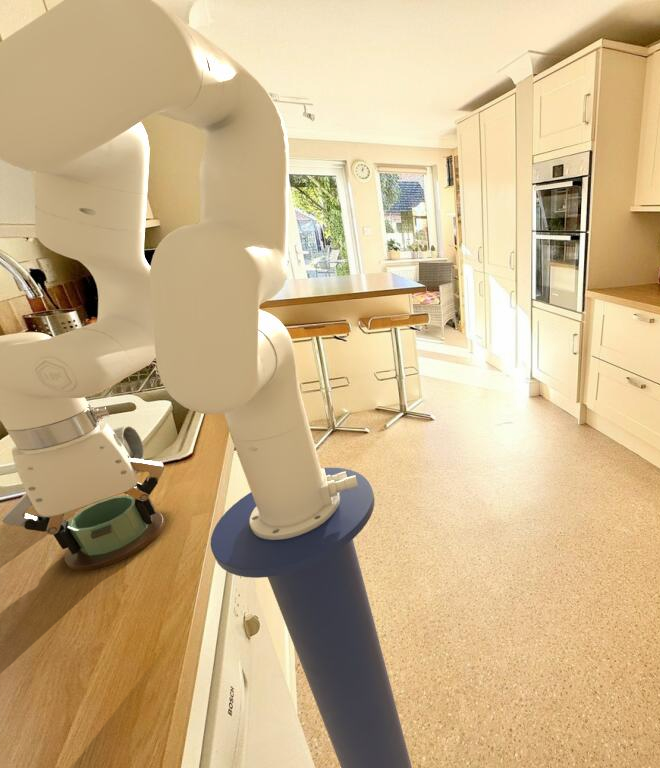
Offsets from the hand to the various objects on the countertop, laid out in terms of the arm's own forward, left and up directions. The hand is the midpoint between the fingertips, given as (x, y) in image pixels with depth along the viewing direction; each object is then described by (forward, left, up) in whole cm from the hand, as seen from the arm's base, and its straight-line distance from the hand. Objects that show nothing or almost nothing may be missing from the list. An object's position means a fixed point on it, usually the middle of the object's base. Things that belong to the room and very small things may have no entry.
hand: (114, 532), depth 61 cm
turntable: (0, 0, -1) cm, 1 cm away
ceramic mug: (+6, -24, -2) cm, 25 cm away
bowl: (0, 0, -1) cm, 1 cm away
